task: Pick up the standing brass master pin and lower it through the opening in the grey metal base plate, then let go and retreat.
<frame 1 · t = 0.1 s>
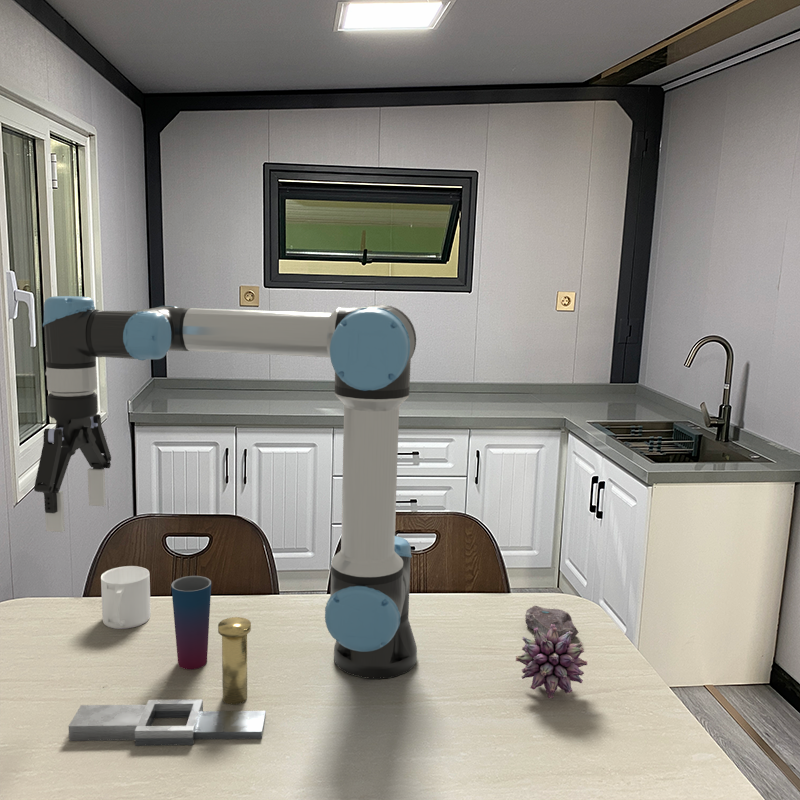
hand: (77, 517, 133), 28 cm above the table, fingers open, 13 cm apart
master pin: (235, 698, 131), on the table
rock: (550, 634, 158), on the table
flower: (549, 694, 136), on the table
mug: (123, 623, 157), on the table
grey metal base plate: (170, 728, 122), on the table
cup: (192, 663, 142), on the table
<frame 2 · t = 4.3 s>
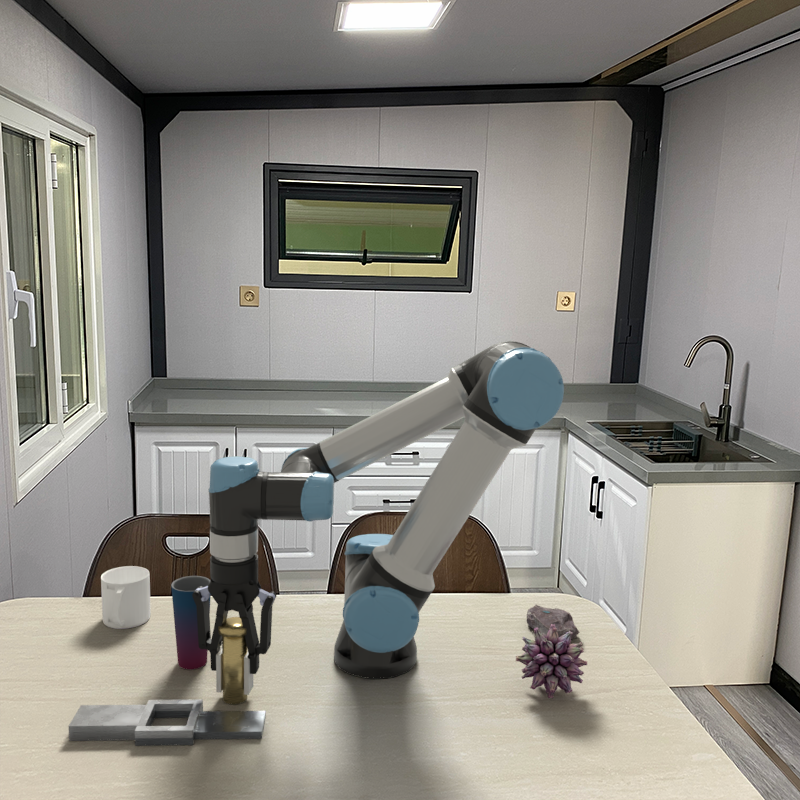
hand: (235, 688, 131), 2 cm above the table, fingers closed on master pin, 4 cm apart
master pin: (235, 697, 131), on the table, touching gripper
everything else where it was.
when the fingers open (3 cm above the table, at t = 9.1 s): master pin stays where it is, on the table.
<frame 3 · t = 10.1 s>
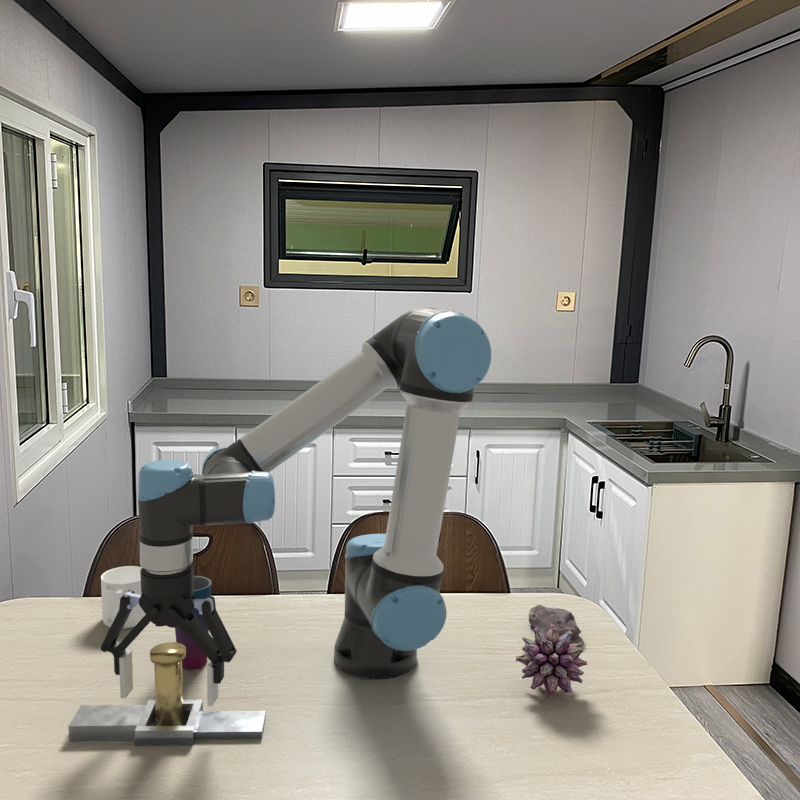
hand: (169, 697, 121), 5 cm above the table, fingers open, 13 cm apart
master pin: (169, 729, 122), on the table
everything else where it was.
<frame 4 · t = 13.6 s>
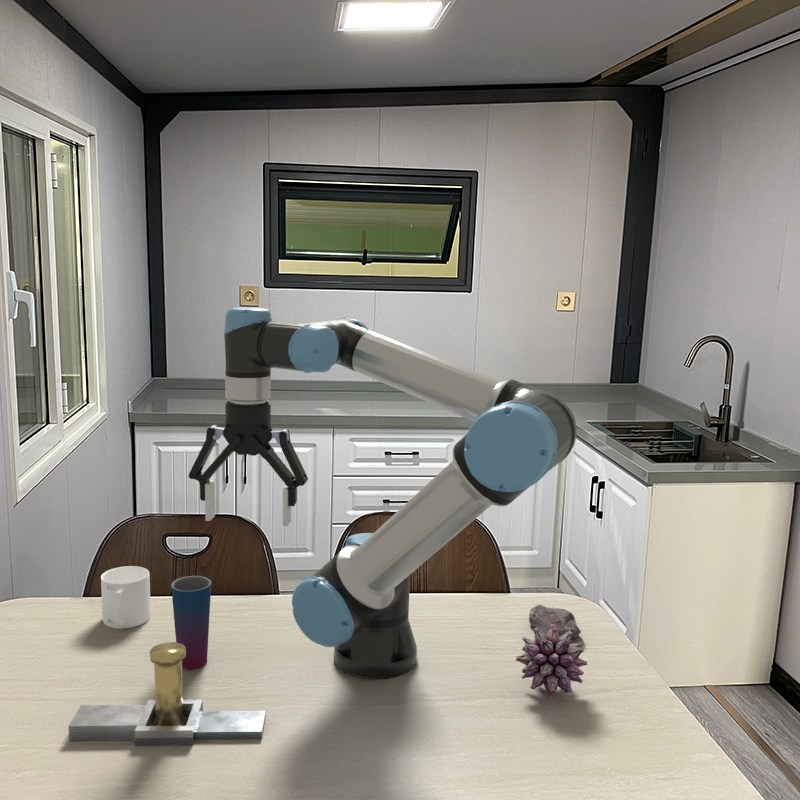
hand: (248, 521, 137), 27 cm above the table, fingers open, 13 cm apart
nothing on the table moved.
at the end: master pin 0.1 cm off-centre on the grey metal base plate, point 0.0 cm above the grey metal base plate's base; master pin tilted 0°; the gripper is holding nothing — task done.
